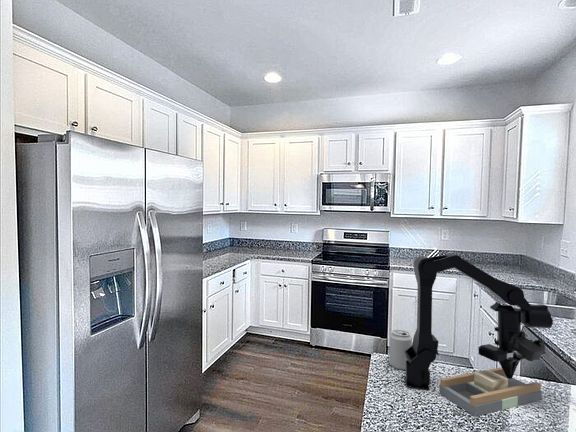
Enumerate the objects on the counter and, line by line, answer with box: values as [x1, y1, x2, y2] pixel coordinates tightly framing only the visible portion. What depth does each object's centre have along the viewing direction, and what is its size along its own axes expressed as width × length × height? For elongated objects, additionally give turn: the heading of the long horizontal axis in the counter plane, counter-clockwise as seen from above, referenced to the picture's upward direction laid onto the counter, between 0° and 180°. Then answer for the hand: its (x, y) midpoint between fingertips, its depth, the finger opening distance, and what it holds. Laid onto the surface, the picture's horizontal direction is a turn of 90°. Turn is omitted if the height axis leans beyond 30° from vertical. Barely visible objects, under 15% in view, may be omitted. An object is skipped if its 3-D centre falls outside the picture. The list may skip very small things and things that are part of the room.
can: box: [388, 329, 413, 371], centre depth 115 cm, size 8×8×12 cm
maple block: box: [474, 369, 508, 392], centre depth 96 cm, size 6×6×4 cm
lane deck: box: [438, 367, 543, 417], centre depth 96 cm, size 26×12×4 cm, turn 110°
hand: (509, 378), depth 98 cm, fingers closed
